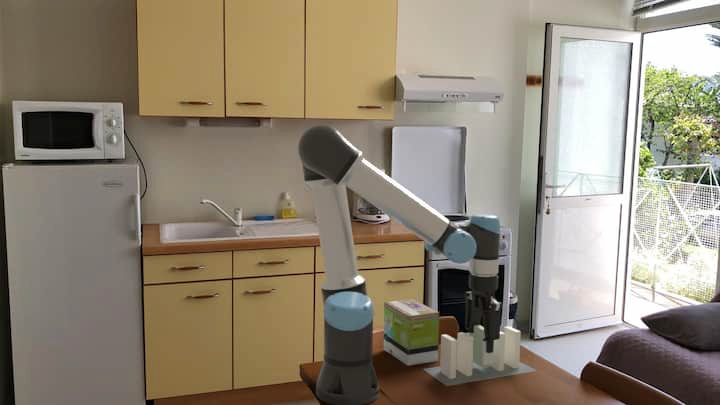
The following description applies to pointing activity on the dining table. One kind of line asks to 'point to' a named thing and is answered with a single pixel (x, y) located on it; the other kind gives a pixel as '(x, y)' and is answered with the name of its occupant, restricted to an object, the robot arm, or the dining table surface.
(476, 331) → the sage domino
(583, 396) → the dining table surface
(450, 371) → the domino
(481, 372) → the slate mat
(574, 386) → the dining table surface
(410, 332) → the tea box
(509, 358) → the domino
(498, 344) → the domino
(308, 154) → the robot arm
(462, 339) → the domino
